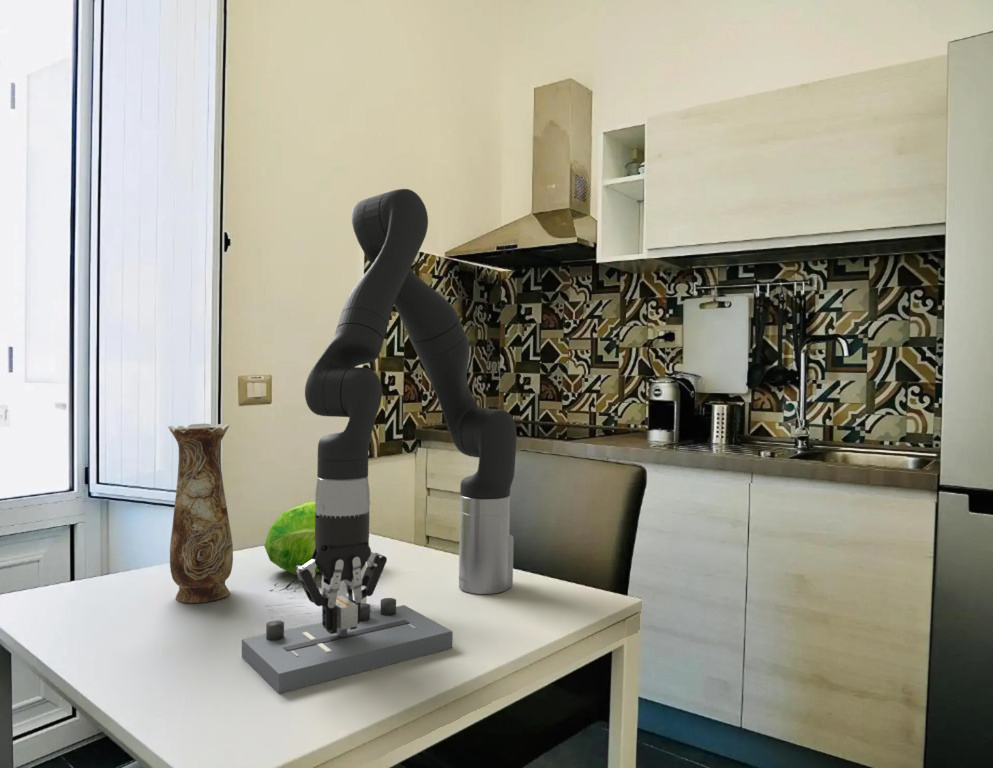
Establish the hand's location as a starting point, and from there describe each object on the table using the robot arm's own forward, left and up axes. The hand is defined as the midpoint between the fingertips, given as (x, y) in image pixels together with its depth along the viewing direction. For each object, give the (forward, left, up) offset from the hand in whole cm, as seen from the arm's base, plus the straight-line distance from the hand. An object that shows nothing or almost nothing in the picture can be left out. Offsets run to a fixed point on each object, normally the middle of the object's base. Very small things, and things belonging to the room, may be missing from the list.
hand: (341, 629), depth 105 cm
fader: (0, 0, -1) cm, 1 cm away
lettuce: (-14, -41, -4) cm, 44 cm away
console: (-1, 0, -4) cm, 4 cm away
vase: (+9, -38, -4) cm, 39 cm away
